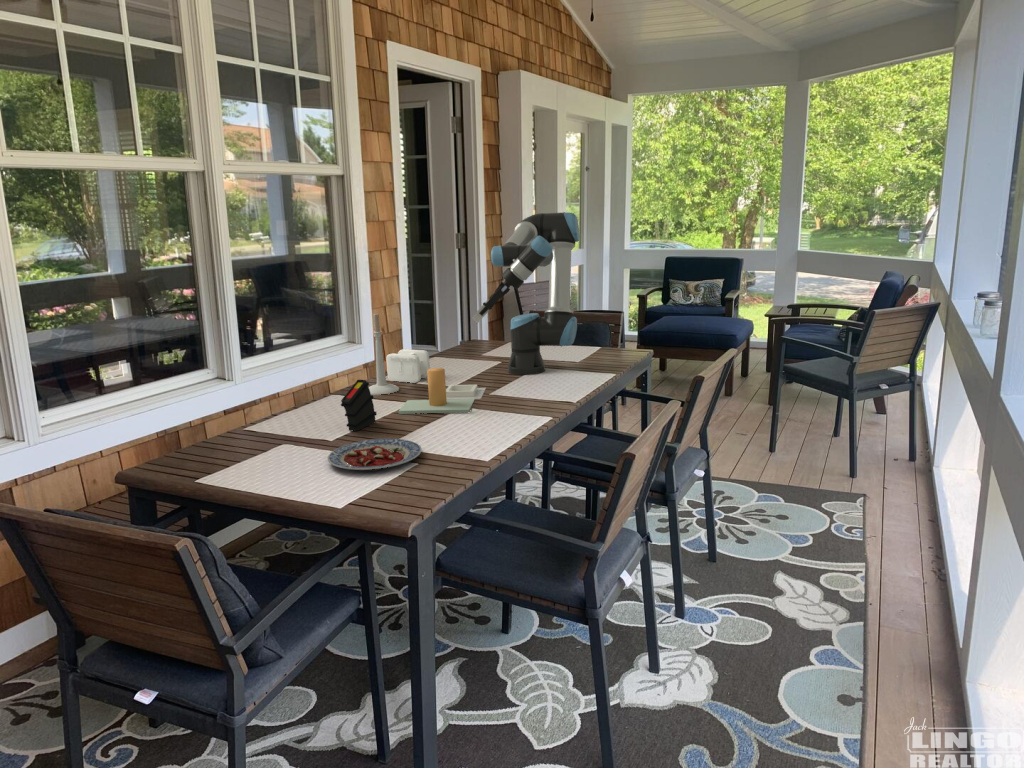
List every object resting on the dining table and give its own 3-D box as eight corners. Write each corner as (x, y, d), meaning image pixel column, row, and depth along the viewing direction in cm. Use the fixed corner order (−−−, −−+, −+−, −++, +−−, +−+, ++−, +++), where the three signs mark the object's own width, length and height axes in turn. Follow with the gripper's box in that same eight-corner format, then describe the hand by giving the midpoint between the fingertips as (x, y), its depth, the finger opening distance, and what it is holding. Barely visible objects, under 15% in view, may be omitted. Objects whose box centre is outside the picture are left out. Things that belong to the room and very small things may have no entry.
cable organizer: (432, 378, 309) (430, 350, 306) (418, 384, 300) (416, 355, 297) (402, 376, 316) (400, 348, 313) (386, 382, 306) (384, 353, 304)
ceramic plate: (338, 483, 197) (336, 472, 197) (320, 454, 220) (319, 444, 220) (433, 465, 207) (433, 455, 206) (407, 440, 230) (407, 431, 229)
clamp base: (486, 390, 286) (485, 382, 285) (480, 401, 271) (480, 393, 270) (443, 391, 288) (443, 383, 287) (436, 402, 272) (435, 394, 271)
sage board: (474, 402, 270) (474, 398, 270) (469, 413, 256) (469, 409, 256) (407, 403, 272) (407, 400, 272) (398, 414, 259) (398, 410, 258)
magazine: (382, 415, 252) (367, 379, 243) (362, 442, 243) (346, 406, 234) (372, 414, 254) (357, 378, 245) (352, 441, 245) (336, 405, 236)
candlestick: (372, 386, 299) (366, 310, 292) (403, 387, 297) (398, 310, 290) (359, 395, 287) (352, 315, 280) (392, 395, 284) (385, 315, 277)
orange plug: (448, 401, 268) (446, 367, 265) (445, 406, 262) (443, 371, 259) (431, 401, 268) (428, 368, 265) (427, 406, 262) (425, 372, 260)
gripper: (511, 262, 281) (473, 304, 287) (505, 270, 257) (464, 316, 263) (526, 276, 282) (488, 318, 288) (522, 286, 258) (480, 331, 264)
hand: (476, 317), depth 275 cm, fingers open, 13 cm apart
